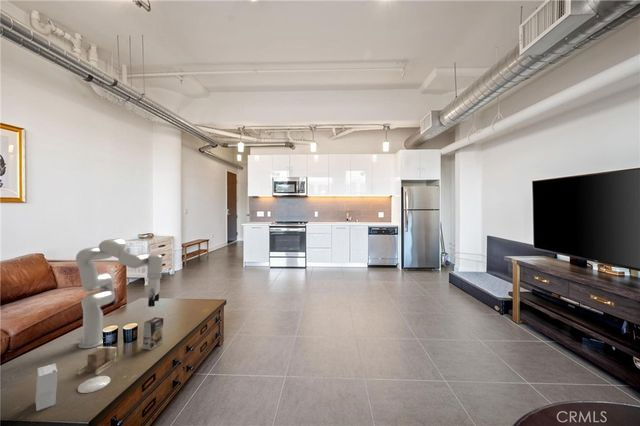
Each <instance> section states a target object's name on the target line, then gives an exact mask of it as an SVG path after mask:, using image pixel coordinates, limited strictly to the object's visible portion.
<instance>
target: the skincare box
mask: <svg viewBox="0 0 640 426" xmlns="http://www.w3.org/2000/svg"><path fill="white" fill-rule="evenodd" d="M36 369H37V374H36V387H35V399H34V403H35V407H36V408H35V409H36V410H35V411H36V412H38V411H42V410H44V409H46V408H49V407H52V406H55V405H56V398H57V385H58V371H59V370H58V369H57V364H56V363H52V364H48V365H44V366H41V367H38V368H36Z"/></svg>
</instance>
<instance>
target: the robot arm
mask: <svg viewBox="0 0 640 426" xmlns="http://www.w3.org/2000/svg"><path fill="white" fill-rule="evenodd" d="M130 252H131V247H130V246H128V245H127V243H126V241H125V240H124V239H122V238H112V239H111V238H110V239H105V240H103V241H101V242H100V243H99V244H98V246H94V247H87V248H84V249H81V250H80V251H78V252H77V254H76V256H75V262H76V265H77V268H78V271H79V276H80V282H81V286H82V290H83V291H85V292H91V293H89V294H86V295H85V296H84V297H83V298H82V299H81V308H82V316H83V317H82V335H79V336H78V338H77V339H76V341H78V342H80V343H79V344H78V347H79V349H90V348H91V349H92V348H97V347H100V346H101V345H103V344H104V343H103V339H102V337H103V333H104V313H103V310H102V309H101V307H103V306H104V305H106V306H107V305H108V304H111V303H112V302H113V301H114V300H115V298H116V291H115V286H114V282H113V281H114V280H113V277H112V276H111V274H109V273H107V272H100V273H99V271H98V266H97V265H96V264H95V263H94V262H95V261H100V260H107V259H109V258H112V257H113V258H116V259H118V261H119V263H120V264H121V265H123V266H125V267H128V268H131V269H138V268H139V269H140V268H143V267H146V268H147V270H146V271H147V272H146V274H147V275H146V279H148V280H147V289H146V296H147V297H148V303H147V304H148V305H147V306H148V307H149V308H151V307H155V305H156V304H155V303H156V302H159V301H160V290H161V278H163V256H162V254H159V253H158V254H156V253H155V254H153V253H150V252H147V253H146V252H145V253H141V254H139V253H138V254H131V253H130ZM93 291H94V292H93ZM102 332H103V333H102ZM103 338H104V337H103Z"/></svg>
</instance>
